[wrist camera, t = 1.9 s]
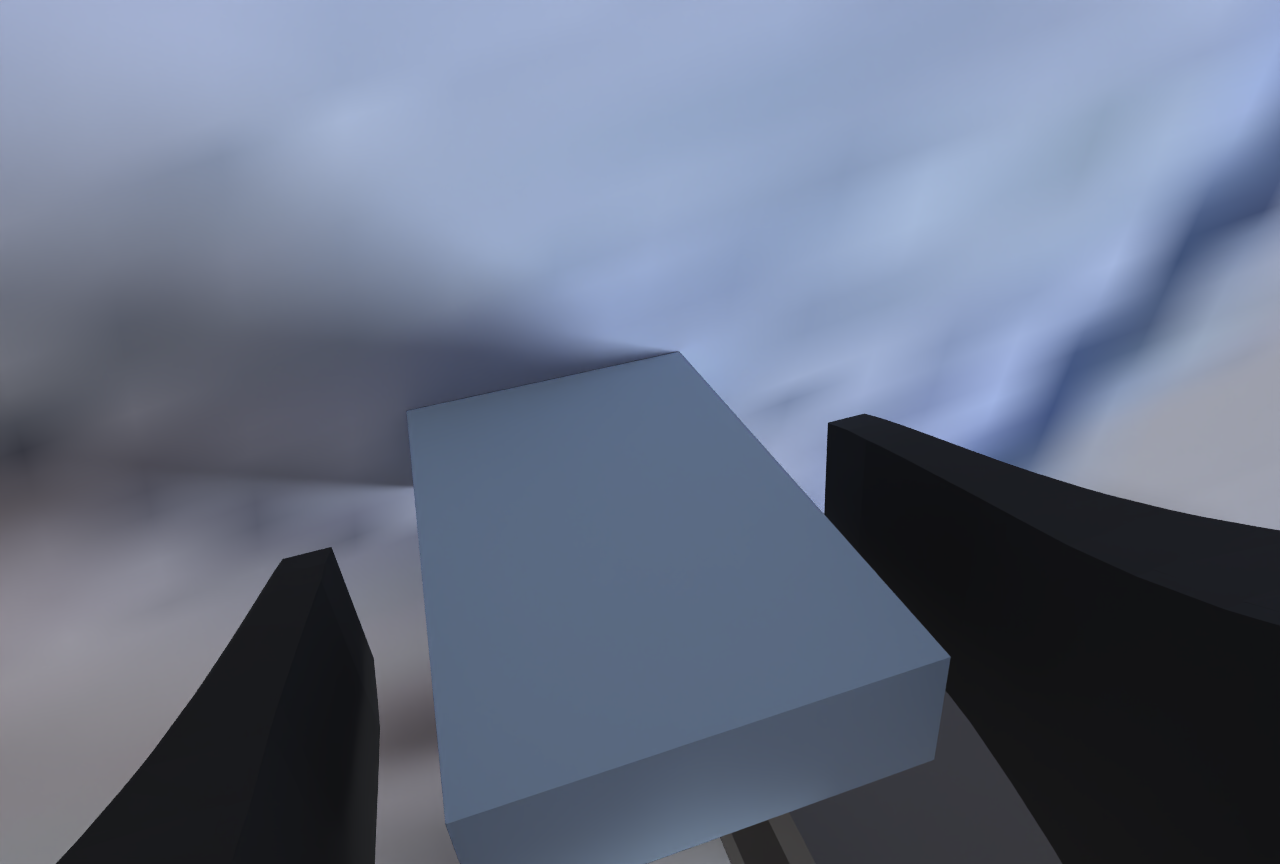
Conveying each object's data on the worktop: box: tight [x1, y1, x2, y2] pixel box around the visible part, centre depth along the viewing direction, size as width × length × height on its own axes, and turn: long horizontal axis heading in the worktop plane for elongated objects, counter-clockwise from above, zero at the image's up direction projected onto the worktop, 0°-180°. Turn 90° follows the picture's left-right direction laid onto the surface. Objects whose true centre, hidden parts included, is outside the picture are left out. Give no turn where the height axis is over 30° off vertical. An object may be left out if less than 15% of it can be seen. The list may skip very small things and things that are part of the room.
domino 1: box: [407, 352, 951, 864], centre depth 11 cm, size 5×2×8 cm, turn 95°
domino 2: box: [769, 691, 1062, 864], centre depth 16 cm, size 5×2×8 cm, turn 95°
